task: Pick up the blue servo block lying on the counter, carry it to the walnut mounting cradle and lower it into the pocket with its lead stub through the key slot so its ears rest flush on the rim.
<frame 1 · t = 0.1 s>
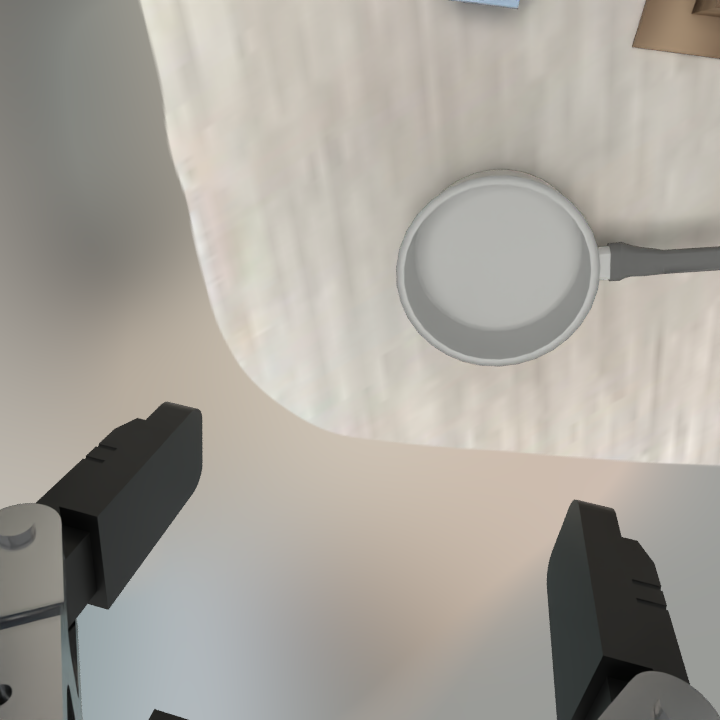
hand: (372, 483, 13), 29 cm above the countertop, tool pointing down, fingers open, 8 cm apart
saucepan: (563, 244, 38), on the countertop
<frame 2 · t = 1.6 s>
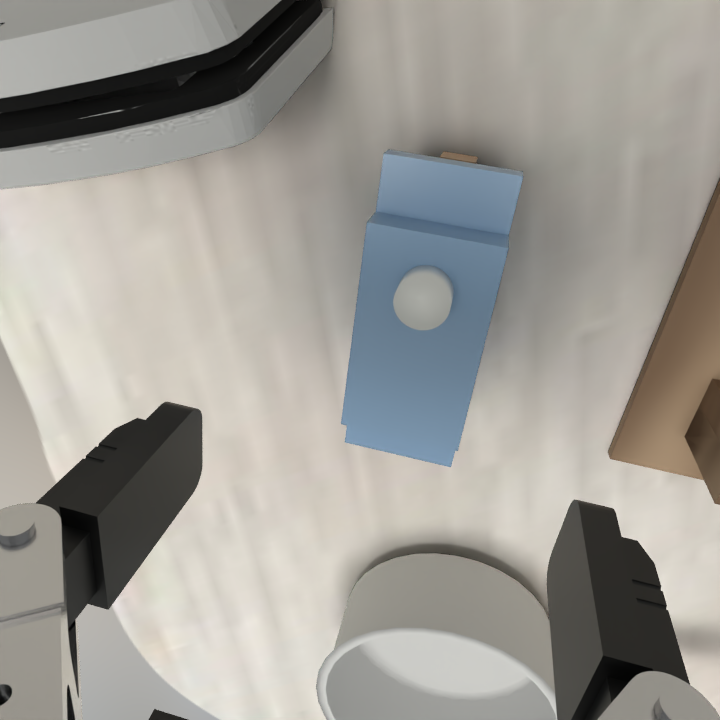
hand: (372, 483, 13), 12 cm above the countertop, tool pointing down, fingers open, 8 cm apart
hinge: (122, 40, 22), on the countertop
saucepan: (529, 617, 31), on the countertop
servo: (436, 280, 23), on the countertop
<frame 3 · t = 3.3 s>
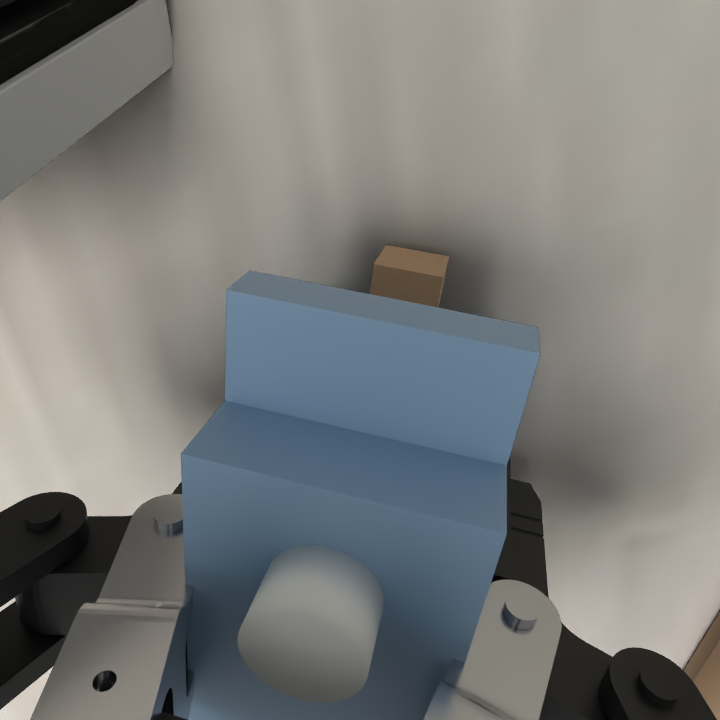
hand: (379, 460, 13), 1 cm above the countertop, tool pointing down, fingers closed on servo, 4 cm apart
servo: (386, 443, 14), on the countertop, touching gripper
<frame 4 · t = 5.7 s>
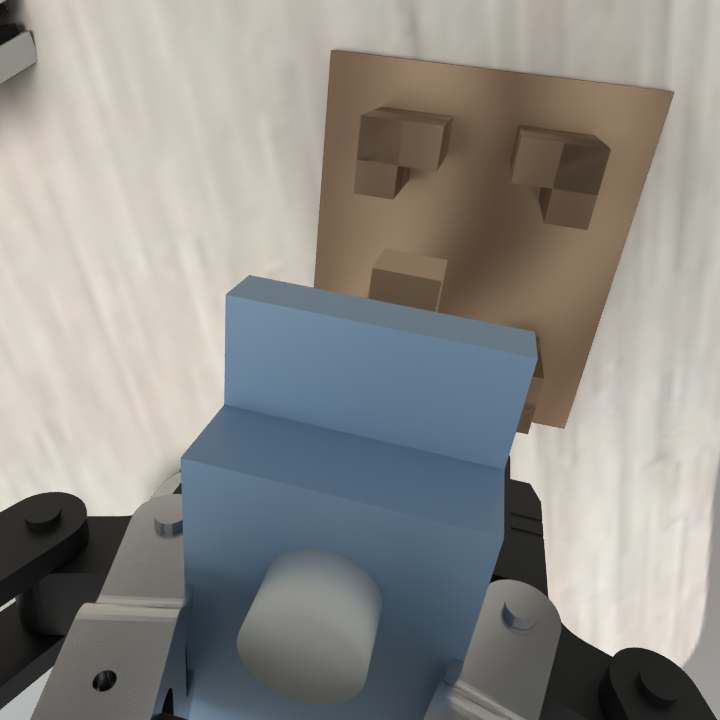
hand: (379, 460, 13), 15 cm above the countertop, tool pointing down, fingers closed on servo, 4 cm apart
cradle: (460, 255, 26), on the countertop
saucepan: (299, 526, 37), on the countertop
servo: (385, 445, 14), point 15 cm above the countertop, touching gripper
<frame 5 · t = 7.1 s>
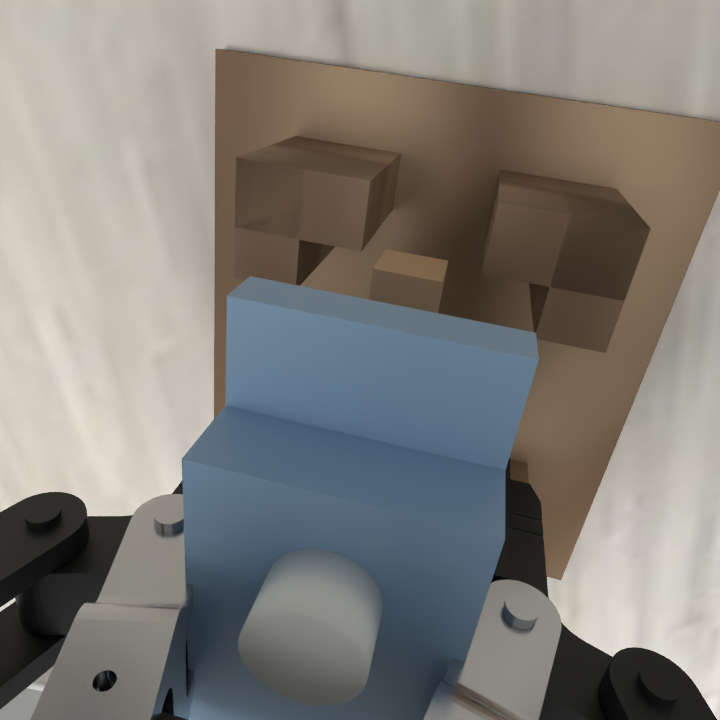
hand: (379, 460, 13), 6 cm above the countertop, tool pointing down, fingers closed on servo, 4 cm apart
cradle: (416, 347, 18), on the countertop
saucepan: (221, 658, 29), on the countertop
servo: (385, 446, 14), point 5 cm above the countertop, touching gripper
when the fingers open (2 cm above the countertop, at t = 8.2 s): servo stays where it is, resting on cradle.
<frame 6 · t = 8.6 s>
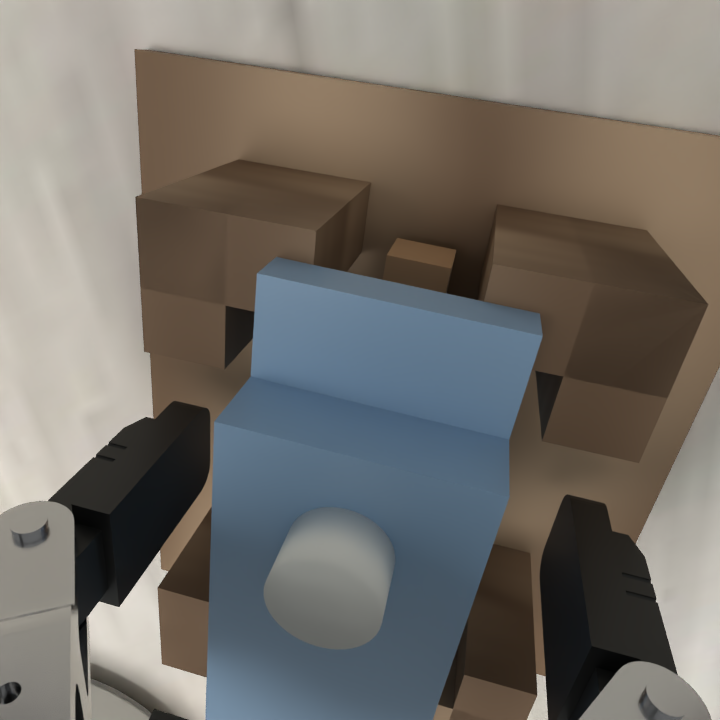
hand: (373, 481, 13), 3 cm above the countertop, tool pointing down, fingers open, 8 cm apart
cradle: (394, 413, 15), on the countertop
servo: (391, 427, 15), point 1 cm above the countertop, touching cradle
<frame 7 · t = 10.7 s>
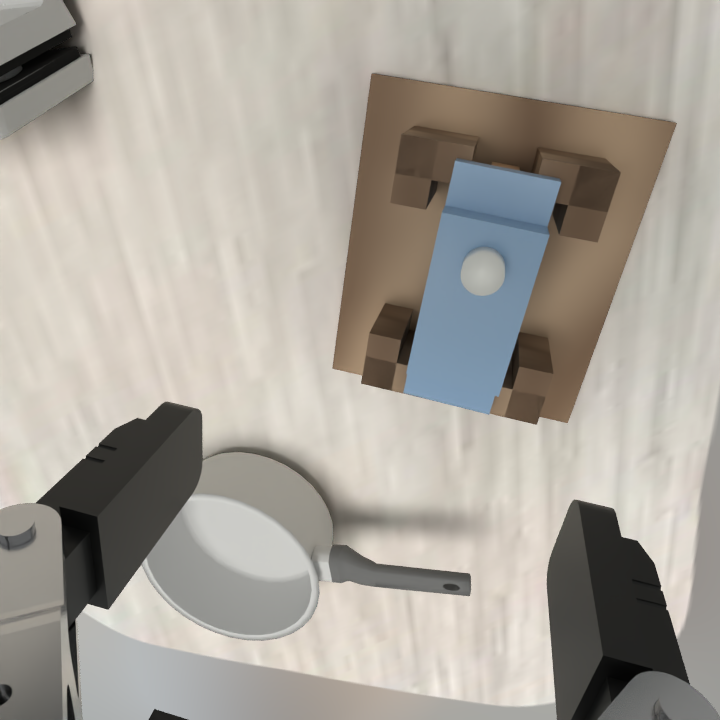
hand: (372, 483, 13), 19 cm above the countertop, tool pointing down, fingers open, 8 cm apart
cradle: (478, 261, 29), on the countertop
saucepan: (321, 510, 39), on the countertop
servo: (478, 266, 29), point 1 cm above the countertop, touching cradle
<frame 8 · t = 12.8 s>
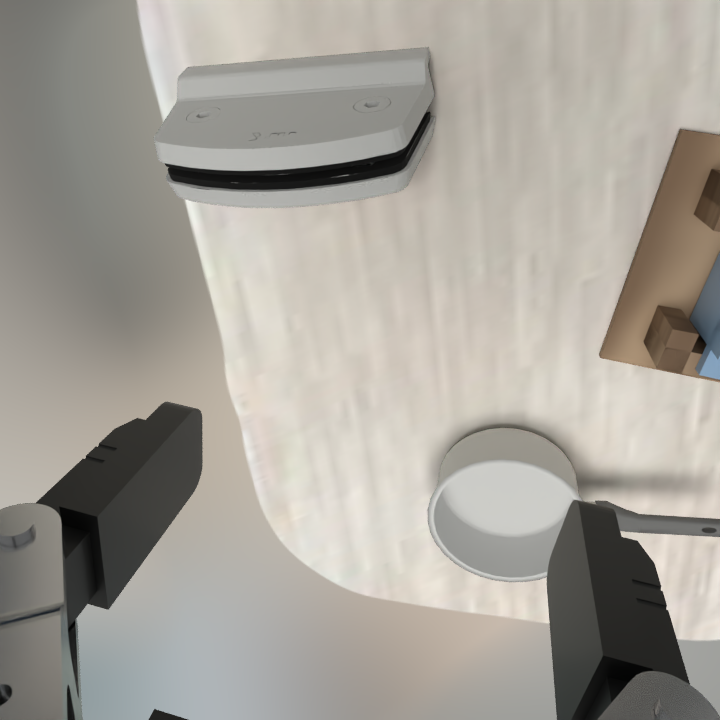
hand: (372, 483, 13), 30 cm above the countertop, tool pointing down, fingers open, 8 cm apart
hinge: (310, 123, 39), on the countertop
saucepan: (561, 476, 47), on the countertop
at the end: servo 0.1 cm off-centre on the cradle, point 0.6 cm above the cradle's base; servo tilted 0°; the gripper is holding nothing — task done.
